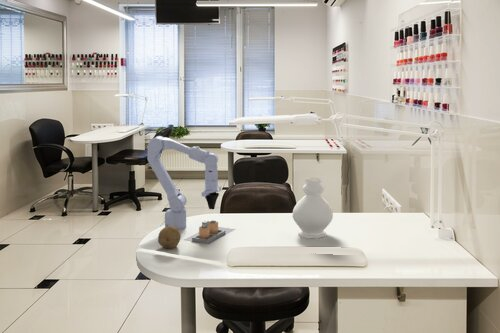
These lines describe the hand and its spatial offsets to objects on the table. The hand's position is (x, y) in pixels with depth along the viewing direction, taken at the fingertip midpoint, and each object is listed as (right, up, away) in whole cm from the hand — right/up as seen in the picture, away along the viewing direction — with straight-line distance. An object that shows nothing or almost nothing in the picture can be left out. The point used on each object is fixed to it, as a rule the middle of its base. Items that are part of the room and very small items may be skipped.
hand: (211, 208), depth 241 cm
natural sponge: (-15, -15, -27) cm, 34 cm away
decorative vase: (+45, -11, -5) cm, 47 cm away
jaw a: (-2, -12, -17) cm, 21 cm away
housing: (0, -12, -9) cm, 15 cm away
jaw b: (+2, -11, -10) cm, 15 cm away
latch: (-2, -9, -3) cm, 10 cm away
